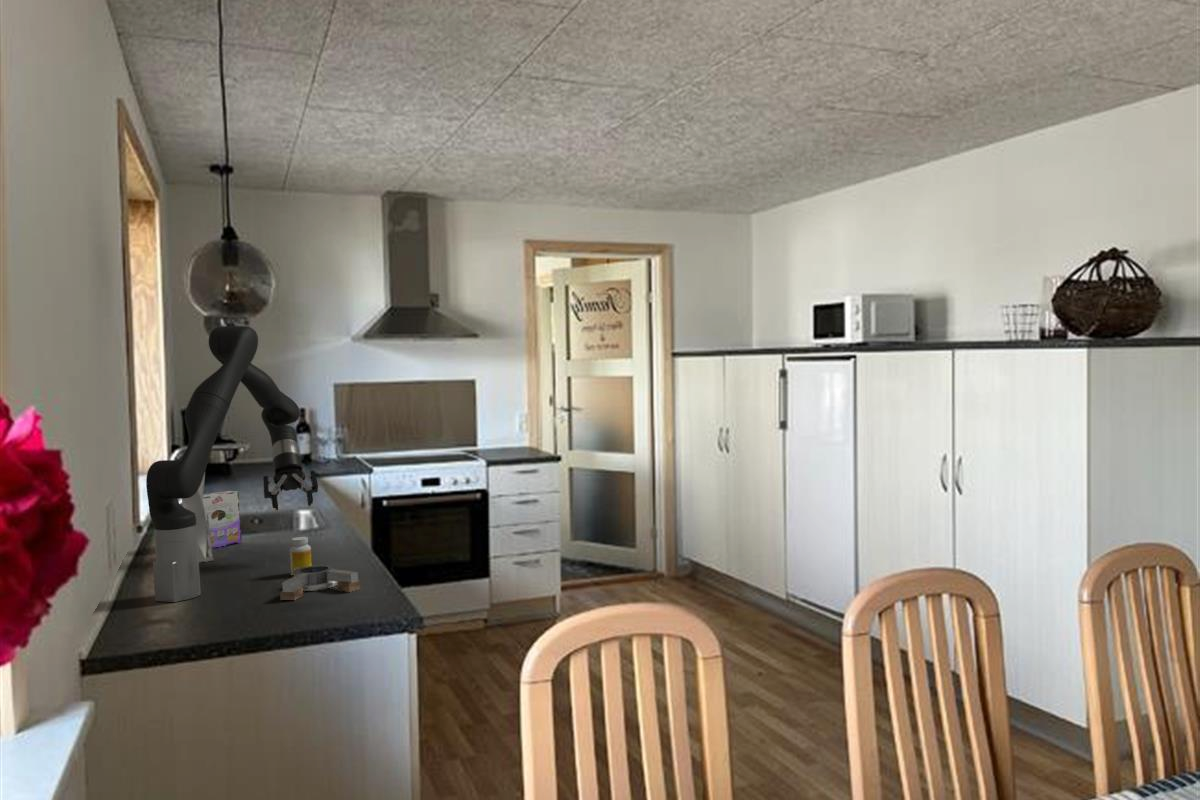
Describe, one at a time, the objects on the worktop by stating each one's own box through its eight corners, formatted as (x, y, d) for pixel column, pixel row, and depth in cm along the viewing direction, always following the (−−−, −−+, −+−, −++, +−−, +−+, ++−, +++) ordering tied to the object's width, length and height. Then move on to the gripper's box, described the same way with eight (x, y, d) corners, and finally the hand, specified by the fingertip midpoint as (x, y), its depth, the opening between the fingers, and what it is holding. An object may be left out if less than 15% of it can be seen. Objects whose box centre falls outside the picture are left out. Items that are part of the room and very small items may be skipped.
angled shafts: (326, 594, 202) (326, 585, 202) (277, 591, 206) (277, 582, 206) (361, 579, 215) (360, 570, 215) (314, 576, 219) (314, 568, 219)
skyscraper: (213, 562, 249) (207, 464, 248) (182, 566, 246) (175, 466, 244) (212, 556, 257) (207, 461, 255) (182, 560, 253) (176, 463, 252)
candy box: (232, 541, 279) (229, 489, 278) (242, 543, 275) (239, 491, 274) (189, 549, 268) (186, 496, 267) (198, 552, 264) (195, 497, 263)
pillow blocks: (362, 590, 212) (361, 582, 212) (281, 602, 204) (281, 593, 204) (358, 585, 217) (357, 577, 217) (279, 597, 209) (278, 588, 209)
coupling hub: (320, 593, 211) (319, 576, 211) (279, 590, 215) (278, 574, 215) (349, 580, 223) (349, 564, 223) (310, 578, 227) (309, 562, 226)
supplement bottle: (287, 575, 231) (285, 538, 231) (306, 570, 235) (303, 535, 234) (297, 578, 227) (295, 541, 227) (316, 573, 231) (314, 537, 231)
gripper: (259, 454, 245) (265, 502, 236) (313, 448, 251) (320, 495, 242) (260, 469, 251) (266, 517, 241) (312, 463, 256) (320, 510, 247)
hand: (293, 506), depth 242 cm, fingers open, 8 cm apart
